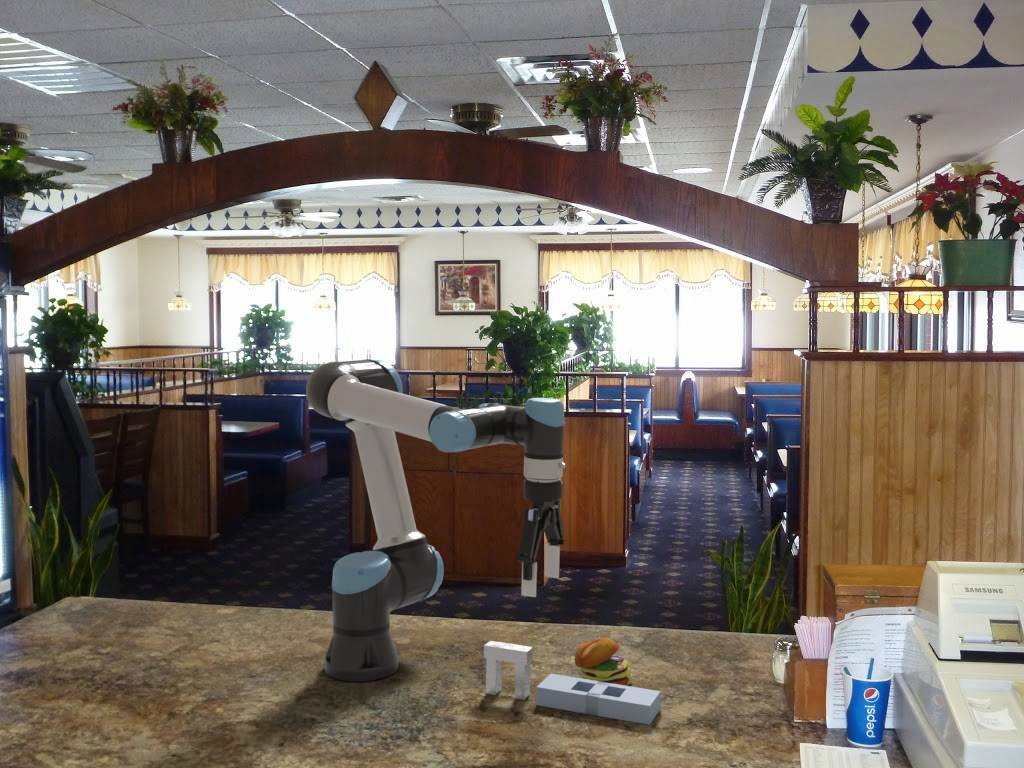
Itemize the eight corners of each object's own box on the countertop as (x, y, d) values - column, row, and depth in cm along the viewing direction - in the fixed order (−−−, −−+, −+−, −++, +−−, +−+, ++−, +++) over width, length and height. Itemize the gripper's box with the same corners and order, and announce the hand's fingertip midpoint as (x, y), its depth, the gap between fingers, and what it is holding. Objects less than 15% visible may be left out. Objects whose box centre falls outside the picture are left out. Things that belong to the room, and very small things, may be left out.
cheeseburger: (631, 693, 196) (620, 644, 195) (578, 702, 198) (567, 653, 198) (635, 674, 206) (624, 627, 205) (585, 682, 208) (574, 636, 208)
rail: (536, 704, 191) (536, 686, 190) (550, 690, 197) (550, 673, 197) (649, 724, 182) (649, 706, 182) (660, 709, 189) (660, 691, 189)
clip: (483, 693, 196) (484, 645, 195) (490, 687, 199) (490, 640, 198) (526, 700, 193) (526, 652, 192) (532, 694, 195) (532, 647, 195)
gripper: (540, 492, 181) (537, 607, 183) (581, 469, 205) (578, 572, 207) (501, 488, 184) (499, 601, 186) (546, 466, 207) (543, 567, 209)
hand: (540, 586), depth 196 cm, fingers open, 13 cm apart
